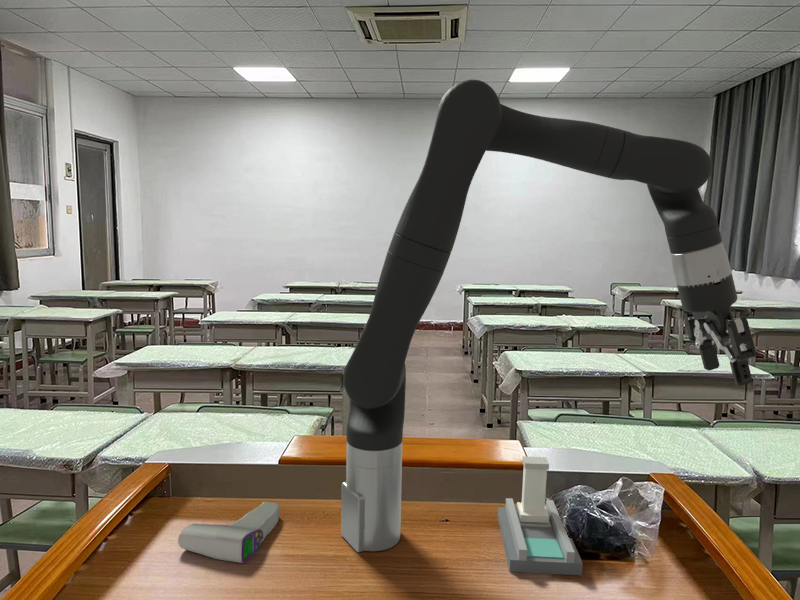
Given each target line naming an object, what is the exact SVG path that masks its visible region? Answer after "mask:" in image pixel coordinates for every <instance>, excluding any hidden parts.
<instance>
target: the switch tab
mask: <svg viewBox="0 0 800 600" xmlns="http://www.w3.org/2000/svg"><path fill="white" fill-rule="evenodd" d="M522 465H523V470H522V471H523V473H522V489H521V490H522V491H521V502H519V501H518V502H516V508H517V511H518V515H519V518H520V522H539V523H549V514H548V512H547V509H546V491H547V475H548V473H547V472H548V471H549V470H550V469H549V468H550V463H549V460H548V459H547V457H546V456H525V455H524V456H522Z"/></svg>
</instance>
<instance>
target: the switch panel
mask: <svg viewBox="0 0 800 600" xmlns="http://www.w3.org/2000/svg"><path fill="white" fill-rule="evenodd" d="M545 507H546V509H547V512H548V514H549V523H539V522H520V518H519V515H518V511H517V507H516V506H515V502H514V499H513V497H511V498H510V497H509V498H507V497H506V498H505V506H504V507H502V506H501V507H500V506H498V507H497V520H498V521H497V522H498V524H499V530H500V534H501V538H502V544H503V548H504V553H505V557H506V562H507V566H508V570H509V571H508V572H509V573H527V574H542V575H543V574H547V575H567V576H583V568H584V567H583V565H584V564H583V561H582V559H581V556H580V554H579V551H578V549H577V548H576V544H575V542H574V540H573V537H572V538H569V537H568V535H567V532H566V530H565V528H564V525H563V523H562V521H561V518H560V516H559V513H558V511H557V510H558V509H557V506H556V504H555V502H554V500H552V499H545Z"/></svg>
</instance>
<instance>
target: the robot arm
mask: <svg viewBox="0 0 800 600" xmlns="http://www.w3.org/2000/svg"><path fill="white" fill-rule="evenodd" d="M486 152H495V153H497V152H498V153H505V154H512V155H519V156H524V157H528V158H533V159H536V160H540V161H545V162H547V163H551V164H554V165H555V164H556V165H558V166H562V167H566V168H569V169H573V170H575V171H576V170H577V171H579V172H584V173H587V174H591V175H595V176H598V177H603V178H607V179H612V180H618V181H633V182H634V181H635V182H639V183H643V184H646V187H647V189H648V192H649V195H650V197H651V200H652V202H653V204H654V207H655V209H656V211H657V213H658V215H659V218H660V219H661V221H662V223H663V225H664V232H665V236H666V240H667V244H668V248H669V252H670V256H671V264H672V266H671V267H672V272H673V276H674V279H675V284H676V287H677V291H678V295H679V299H680V303H681V307H682V313H683V318H684V323H685V327H686V331H687V332H686V333H687V335H688V339H689V342H690V343H695V347H696V348H697V349H698V350H699V354H700V357H701V360H702V361H701V362H702V365H703V369H705V370H706V371H707V372H708V371H709V372H710V371H712V370H715V369H716V370H717V369H719V367H720V361H719V357H718V353H717V348H718V349H719V350H721V351H724V354H725V355H726V356H727V358H728V360H729V364H730V368H731V373H732V377H733V381H734V384H735V385H738V386H739V387H741V386H745V385H747V384H750V383H752V381H753V379H752V373H751V369H750V365H749V361H748V359H753V358H755V357H757V356H758V355H757V350H756V347H755V342H754V340H753V335H752V333H751V329H750V325H749V322H748V318H747V317H746V316H741V317H737V318H736V317H735V316H734V315H733V313H732V311H731V307H732V306H733V304H735V303H737V300H738V293H737V289H736V286H735V281H734V277H733V273H732V268H731V265H730V261H729V256H728V253H727V251H726V249H725V247H724V242H723V239H722V236H721V231H720V227H719V223H718V219H717V216H716V214H715V211H714V209H713V208H712V207H711V206H709V205H708V204H706V202H704V201H703V199H702V196H701V192H700V190H699V189H700V188H701V187H703V185H705V184H706V182H708V180H709V179H710V176H711V173H712V170H713V163H712V160H711V159H712V158H711V156H710V155H709V154H708V152H707V151H706V150H705V149H704V148H703V147H701V146H700V145H698V144H696V143H693V142H690V141H686V140H680V139H677V138H676V139H675V138H669V137H668V138H667V137H660V136H659V137H658V136H652V135H642V134H637V133H634V132H631V131H628V130H625V129H621V128H617V127H612V126H608V125H604V124H600V123H596V122H590V121H584V120H577V119H567V118H558V117H548V116H544V115H543V116H541V115H538V114H536V115H535V114H533V113H528V112H524V111H520V110H517V109H515V108H512V107H509V106H507V105H504V104H503V103H501V102H500V98H499V96H498V94H497V93H496V91H495V90H494V89H493V87H492V86H490V85H489V84H488V83H486V82H485V81H482V80H479V79H466V80H463V81H460V82H458V83H456V84H454V85H453V86H451V87H450V88H449V89H447V91H446V92H445V93H444V95H443V96H442V97H441V100H440V102H439V105H438V108H437V113H436V119H435V123H434V127H433V131H432V136H431V140H430V144H429V147H428V151H427V155H426V159H425V161H424V164H423V167H422V170H421V172H420V174H419V176H418V179H417V181H416V183H415V185H414V187H413V189H412V191H411V193H410V194H409V195H410V196H409V197H408V199H407V202H406V203H405V206H404V208H403V210H402V213H401V215H400V218H399V220H398V222H397V225H396V227H395V231H394V232H393V235H392V239H391V241H390V244H389V246H388V250H387V252H386V254H385V255H386V256H385V259H384V262H383V265H382V268H381V271H380V275H379V279H378V281H377V282H378V283H377V287H376V290H375V294H374V299H373V303H372V307H371V310H370V313H369V316H368V319H367V321H366V324H365V326H364V328H363V330H362V333H361V335H360V337H359V339H358V341H357V343H356V346H355V348H354V349H353V351H352V354H351V355H350V358H349V359H348V361H347V363H346V365H345V368H344V371H343V386H344V390H345V392H346V394H347V396H348V398H349V400H350V407H349V413H348V419H347V425H346V456H345V458H346V459H345V461H346V470H345V471H346V474H345V475H346V477H345V478H346V479H345V481H343V482H341V491H340V492H341V493H340V494H341V497H340V499H341V503H340V504H341V508H340V511H341V514H340V515H341V517H340V520H341V523H340V524H341V525H340V529H341V530H340V535H341V536H342V538H344V540H345V541H346V542H347V543H348V544H349V545H350V546H351V547H352V548H353V549H354V550H355V552H356V553H360V552H380V551H385V550H388V549H391V548H392V547H395V545H397V544H398V543H399V541H400V539H401V526H402V523H401V518H402V478H403V475H402V473H403V467H402V466H403V439H404V438H403V435H404V433H403V432H404V423H405V413H406V412H405V410H406V409H405V408H406V389H407V388H406V383H407V380H406V379H407V378H406V377H407V376H406V375H407V371H406V370H407V369H406V359H407V355H408V352H409V349H410V345H411V344H412V343H411V342H412V339H413V336H414V333H415V332H416V329H417V328H418V325H419V323H420V321H421V320H422V317H423V316H424V314H425V312H426V310H427V308H428V306H429V305H430V304H431V303H430V302H431V300H432V299H433V296H434V294H435V293H436V290H437V288H438V286H439V284H440V282H441V280H442V278H443V275H444V273H445V271H446V267H447V265H448V262H449V259H450V257H451V254H452V252H453V249H454V245H455V242H456V239H457V237H458V232H459V229H460V225H461V223H462V222H461V221H462V218H463V213H464V209H465V205H466V202H467V197H468V194H469V190H470V187H471V184H472V181H473V179H474V177H475V174H476V172H477V170H478V168H479V165H480V164H481V161H482V160H483V157H484V155H485V153H486ZM714 344H715V345H714ZM716 347H717V348H716Z"/></svg>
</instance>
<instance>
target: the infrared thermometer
mask: <svg viewBox="0 0 800 600" xmlns="http://www.w3.org/2000/svg"><path fill="white" fill-rule="evenodd" d="M279 519H280V503H278V502H273V501H262V503H260V505H259V506H257V507H256V508H253V509H252V510H250V511H248V512H247V513H246V514H245V515H243V516H242V517H241V518H240V519H237V520H236V521H234V522H233V523H231V524H210V523H209V524H206V523H191V524H189V525H188V526H186V527H184V529H183V530H182V531H181V532H180V534H179V535H178V538H177V540H178V541H177V543H178V546H179V548H180V549H183V550H186V551H190V552H193V553H195V554H199V555H203V556H205V557H208V558H212V559H216V560H221V561H225V562H226V561H227V562H233V563H240V564H244V563H246V562H247V561H248V560H249V559H251V557H253V556H254V555H255V554H256V553H257V552H258V551H259V549H260V547H261V545H262V543H263V542H264V540H265V539H266V537H267V536H268V535H269V534H270V533H271V532H272V530H273V529H274V528H275V527H276V525H277V524H278V521H279Z"/></svg>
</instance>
